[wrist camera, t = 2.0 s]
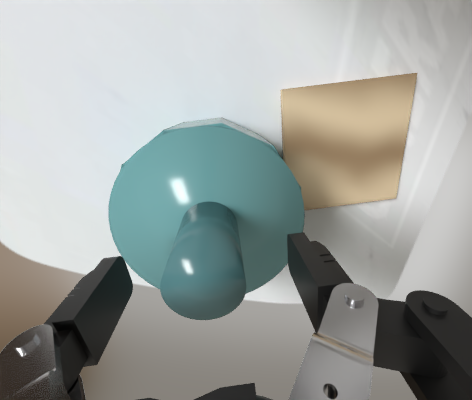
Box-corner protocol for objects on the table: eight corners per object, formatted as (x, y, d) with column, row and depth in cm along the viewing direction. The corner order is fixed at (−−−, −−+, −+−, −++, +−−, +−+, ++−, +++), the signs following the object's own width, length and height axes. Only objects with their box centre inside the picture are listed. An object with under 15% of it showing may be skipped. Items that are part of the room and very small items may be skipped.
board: (280, 90, 18) (282, 89, 17) (411, 73, 18) (417, 72, 18) (284, 209, 22) (286, 212, 21) (391, 196, 22) (395, 198, 22)
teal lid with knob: (131, 128, 18) (-25, 164, 7) (273, 110, 18) (362, 115, 7) (165, 248, 23) (106, 395, 11) (279, 233, 23) (339, 362, 11)
